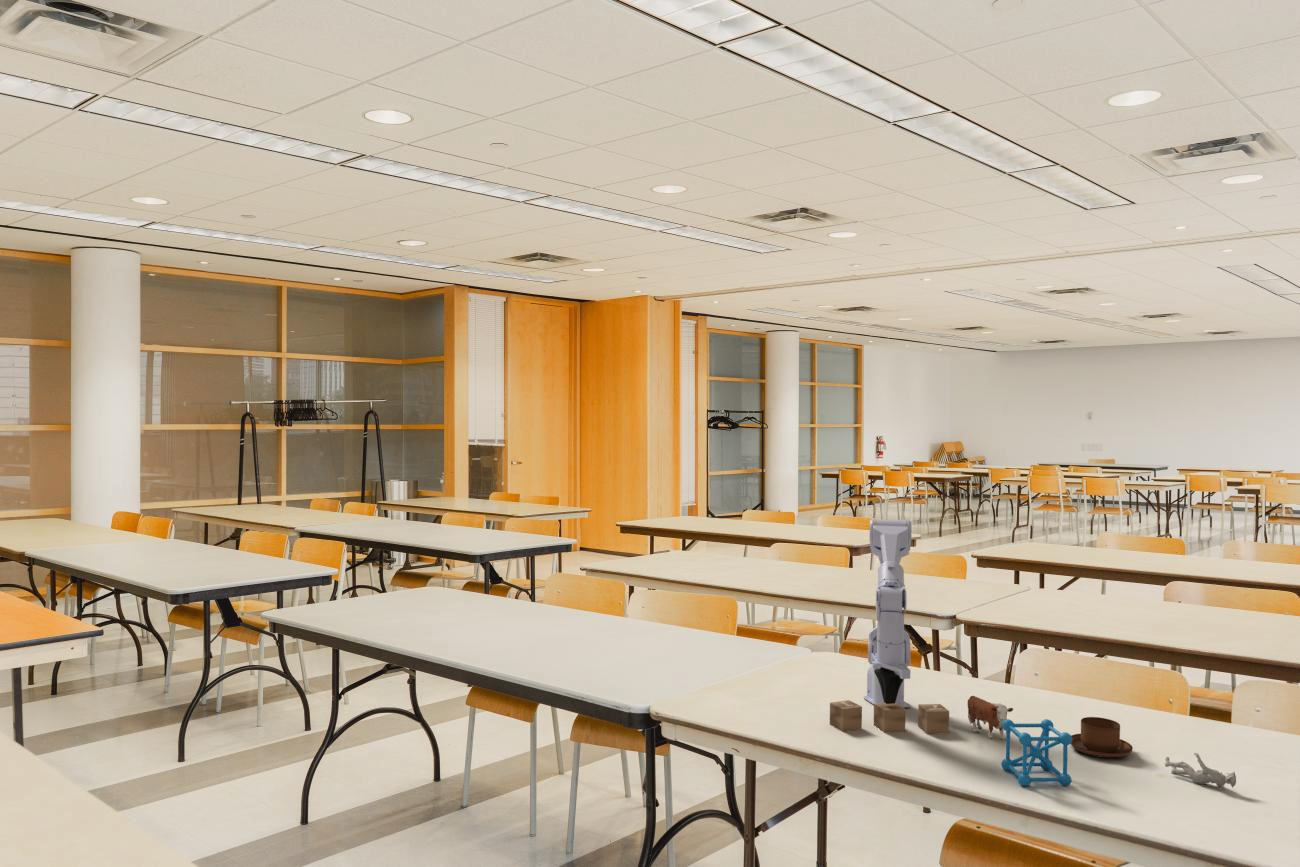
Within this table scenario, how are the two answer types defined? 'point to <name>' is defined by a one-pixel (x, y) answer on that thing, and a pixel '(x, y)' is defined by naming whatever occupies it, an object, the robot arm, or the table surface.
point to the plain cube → (889, 717)
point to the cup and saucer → (1100, 738)
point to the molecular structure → (1036, 752)
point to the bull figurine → (987, 715)
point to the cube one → (845, 715)
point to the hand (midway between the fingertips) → (889, 702)
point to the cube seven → (933, 718)
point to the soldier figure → (1202, 773)
